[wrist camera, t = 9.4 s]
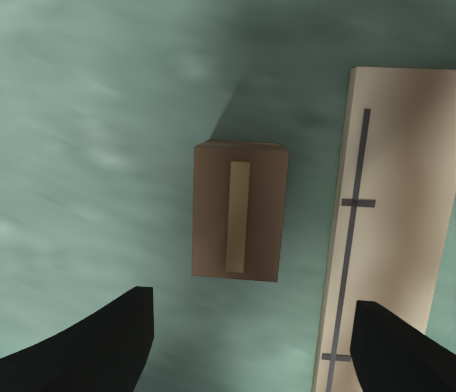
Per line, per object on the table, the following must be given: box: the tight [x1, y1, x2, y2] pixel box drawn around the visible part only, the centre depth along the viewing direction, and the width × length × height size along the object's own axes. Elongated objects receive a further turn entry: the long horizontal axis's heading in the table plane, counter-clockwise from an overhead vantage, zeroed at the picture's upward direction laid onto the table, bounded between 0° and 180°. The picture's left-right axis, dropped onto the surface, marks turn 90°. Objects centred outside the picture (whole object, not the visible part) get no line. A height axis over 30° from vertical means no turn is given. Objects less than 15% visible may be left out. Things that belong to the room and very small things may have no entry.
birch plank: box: [311, 67, 456, 392], centre depth 19 cm, size 6×24×1 cm, turn 178°
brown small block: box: [192, 140, 289, 282], centre depth 16 cm, size 4×6×5 cm, turn 177°
